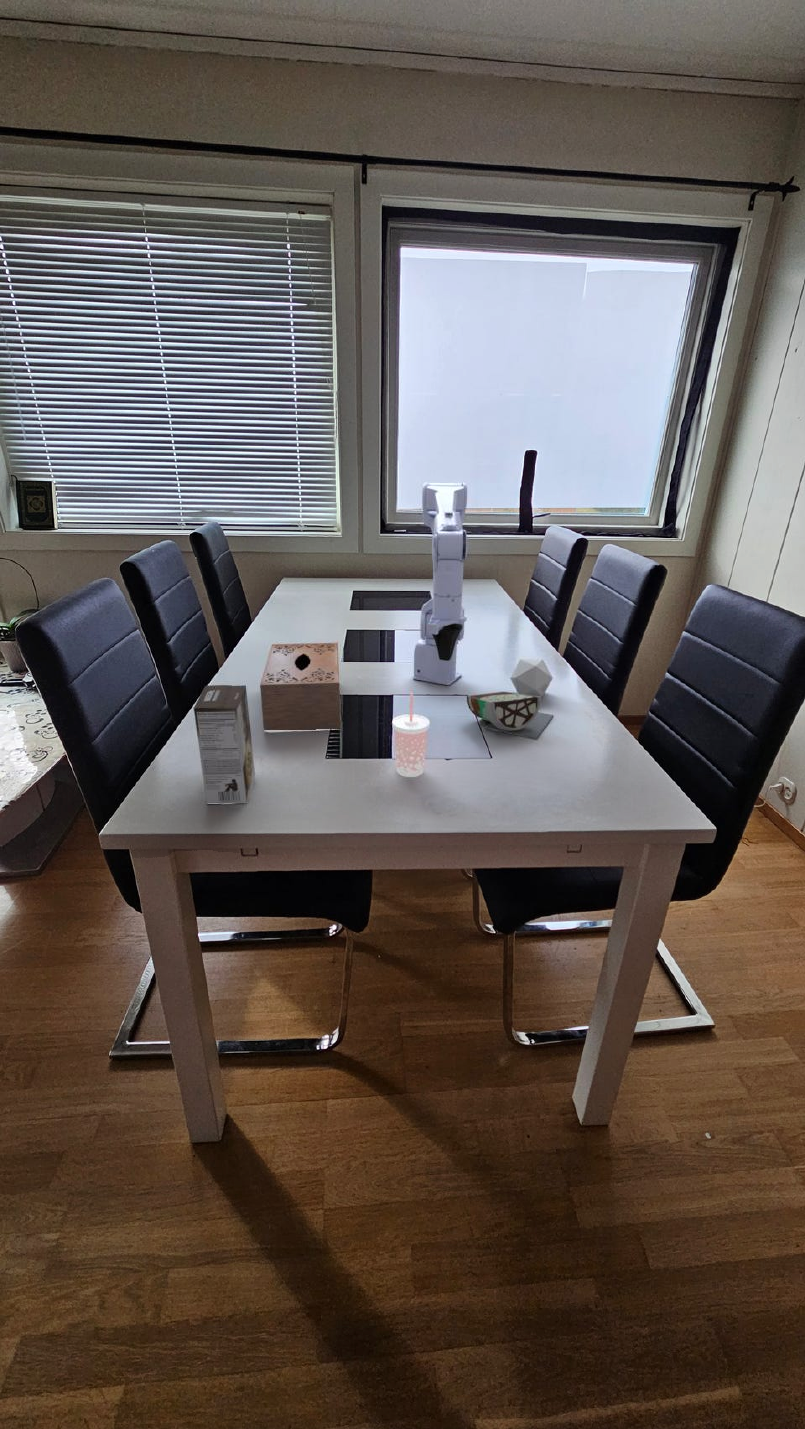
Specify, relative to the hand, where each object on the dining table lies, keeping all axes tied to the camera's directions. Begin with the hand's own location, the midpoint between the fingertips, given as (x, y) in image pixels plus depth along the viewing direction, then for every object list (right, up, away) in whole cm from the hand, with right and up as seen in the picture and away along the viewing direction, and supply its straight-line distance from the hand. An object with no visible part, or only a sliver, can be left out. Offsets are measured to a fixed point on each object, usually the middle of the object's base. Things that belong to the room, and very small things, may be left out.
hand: (445, 659), depth 127 cm
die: (+19, -7, +9) cm, 23 cm away
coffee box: (-36, -23, -30) cm, 52 cm away
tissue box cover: (-29, -10, +2) cm, 31 cm away
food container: (+8, -10, -3) cm, 13 cm away
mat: (+15, -13, -5) cm, 20 cm away
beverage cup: (-7, -21, -23) cm, 32 cm away
